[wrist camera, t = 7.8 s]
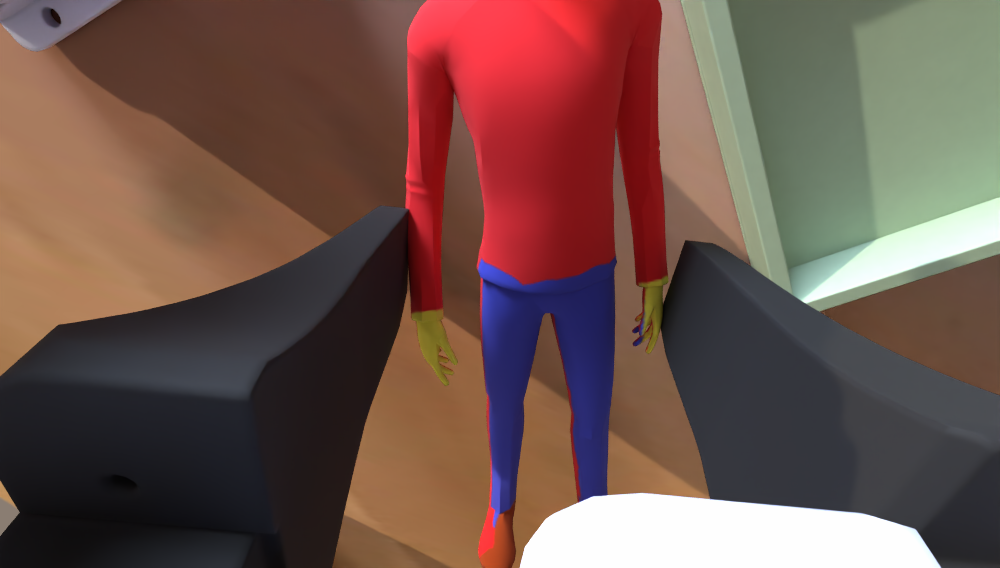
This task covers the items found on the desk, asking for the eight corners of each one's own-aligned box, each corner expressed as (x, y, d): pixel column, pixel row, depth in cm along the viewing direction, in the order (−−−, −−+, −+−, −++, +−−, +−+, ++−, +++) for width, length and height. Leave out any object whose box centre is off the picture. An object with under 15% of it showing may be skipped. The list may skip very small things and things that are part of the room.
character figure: (472, 654, 15) (269, -750, 4) (440, 513, 18) (286, -419, 7) (662, 588, 16) (949, -612, 5) (597, 468, 19) (676, -386, 8)
